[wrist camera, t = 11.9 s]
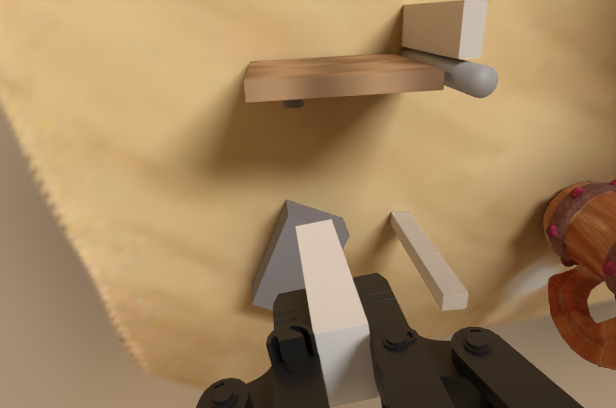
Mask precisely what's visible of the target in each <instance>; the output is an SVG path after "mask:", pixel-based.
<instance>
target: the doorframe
mask: <svg viewBox="0 0 616 408" xmlns="http://www.w3.org/2000/svg"><path fill="white" fill-rule="evenodd" d="M487 4H488V0H463V1H450V2H437V3H423V4H410V5H403V25H402V45H401V46H403V47H407V48H408V49H405V50H403V51H402V52H401V54H400V56H402V57H405V58H409V59H412V60H415V61H419V62H422V63H425V64H429V65H432V66H435V67H438V68H442V69H445V74H444V85H445V86H448V87H450V88H453V89H455V90H458V91H461V92H463V93H466V94H468V95H471V96H473V97H476V98H484V97H487V96H488V95H490V94H491V93H492V92H493V91H494V90H495V88H496V86H497V83H498V75H497V72H496V71H495V70H494V69H493V68H492V67H490V66H487V65H482V64H478V63H473V62H469V61H464V60H460V59H472V58H481V54H482V46H483V38H484V29H485V21H486V13H487ZM411 48H412V49H411ZM442 55H443V56H442ZM391 226H392V228H393V230H394V231H395V233H396V235H397V236H398V238H399V240H400V241H401V243H402V245H403V247H404V248H405V250H406V252H407V253H408V255H409V257H410V258H411V260H412V262H413V263H414V265H415V267H416V268H417V270H418V272H419V273H420V275H421V277H422V278H423V280H424V282H425V283H426V285H427V287H428V288H429V290H430V292H431V293H432V295H433V297H434V298H435V300H436V302H437V304H438V305H439V307H440V309H441V310H442V311H447V310H458V309H466V307H467V300H468V291H467V290H466V288H465V287H464V286H463V284H462V283H461V282H460V280H459V279H458V277H457V276H456V275H455V273H454V272H453V271H452V269H451V268H450V267H449V265H448V264H447V262H446V261H445V260H444V258H443V257H442V256H441V254H440V253H439V252H438V250H437V249H436V247H435V246H434V245H433V243H432V242H431V241H430V239H429V238H428V237H427V235H426V234H425V232H424V231H423V230H422V228H421V227H420V226H419V224H418V223H417V221H416V220H415V219H414V217H413V216H412V215H411V213H410V212H409V211H401V212H391Z"/></svg>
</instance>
